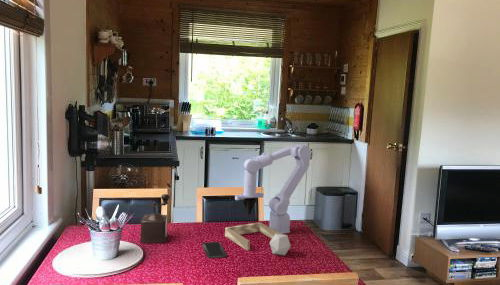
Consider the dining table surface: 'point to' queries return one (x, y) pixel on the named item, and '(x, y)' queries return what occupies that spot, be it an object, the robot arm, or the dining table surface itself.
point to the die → (280, 244)
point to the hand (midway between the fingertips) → (248, 213)
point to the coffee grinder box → (155, 225)
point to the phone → (214, 250)
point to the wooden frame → (236, 232)
